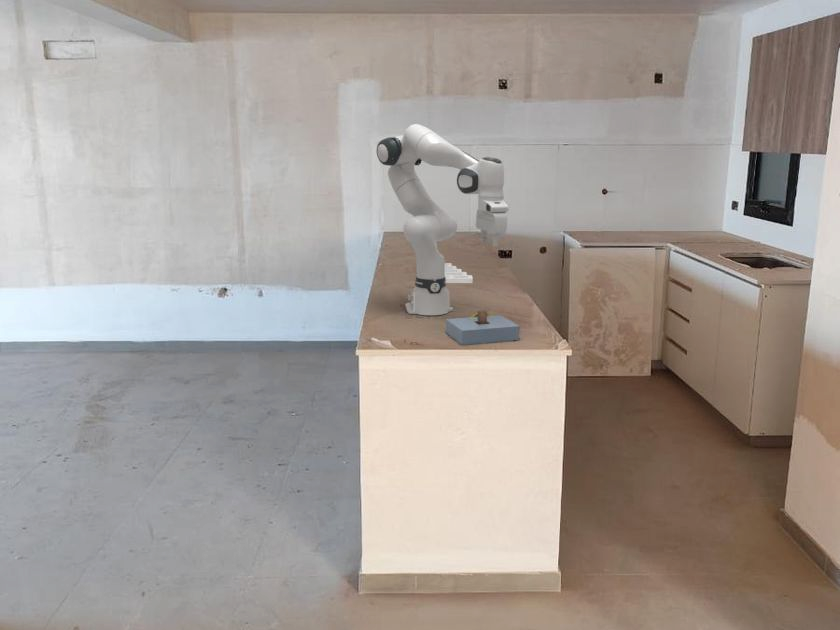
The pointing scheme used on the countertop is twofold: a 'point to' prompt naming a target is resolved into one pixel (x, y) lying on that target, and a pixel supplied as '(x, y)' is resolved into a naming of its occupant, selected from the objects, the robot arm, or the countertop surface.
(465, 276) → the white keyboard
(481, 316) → the peg
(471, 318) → the socket block
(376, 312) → the countertop surface
